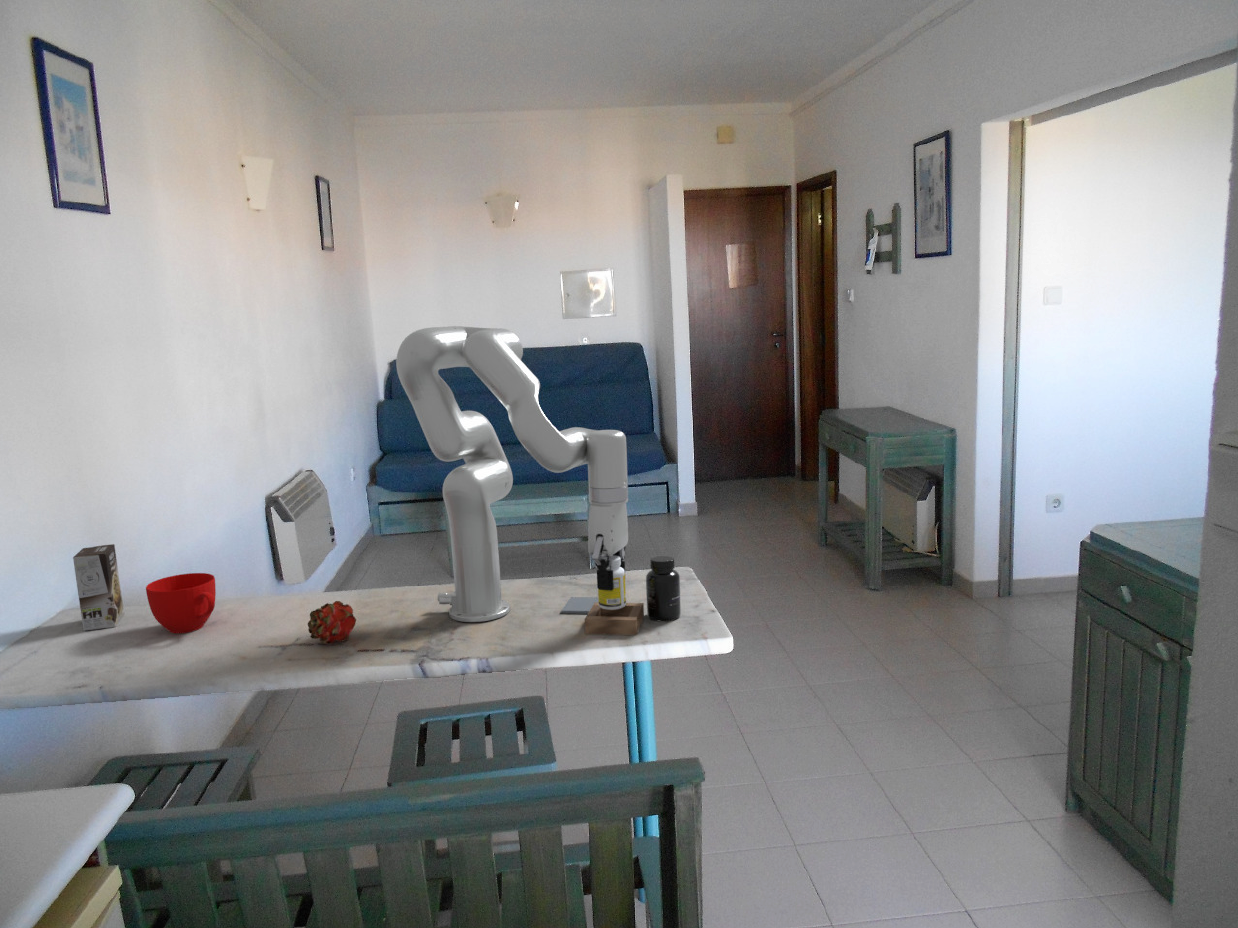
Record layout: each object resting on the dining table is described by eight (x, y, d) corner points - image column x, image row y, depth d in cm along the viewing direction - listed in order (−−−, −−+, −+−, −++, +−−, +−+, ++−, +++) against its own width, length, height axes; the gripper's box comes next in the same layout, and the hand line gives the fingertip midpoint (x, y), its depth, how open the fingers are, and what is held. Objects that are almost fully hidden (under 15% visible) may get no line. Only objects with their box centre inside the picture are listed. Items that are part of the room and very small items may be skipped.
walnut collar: (585, 633, 176) (584, 619, 175) (595, 616, 185) (594, 602, 185) (636, 634, 174) (635, 619, 173) (644, 617, 184) (643, 602, 183)
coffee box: (116, 627, 192) (106, 553, 190) (82, 631, 191) (71, 557, 188) (125, 613, 201) (115, 543, 198) (93, 618, 199) (82, 546, 196)
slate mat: (561, 613, 188) (561, 610, 188) (571, 599, 197) (571, 596, 197) (604, 614, 187) (604, 611, 187) (612, 600, 195) (612, 597, 195)
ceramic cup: (186, 646, 179) (180, 597, 177) (139, 633, 188) (132, 586, 186) (244, 625, 189) (239, 579, 188) (197, 614, 199) (191, 569, 197)
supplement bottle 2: (681, 621, 180) (679, 562, 178) (647, 622, 181) (645, 564, 179) (680, 609, 187) (678, 553, 185) (647, 611, 187) (644, 554, 185)
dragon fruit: (313, 660, 173) (346, 646, 184) (345, 635, 171) (377, 623, 182) (289, 623, 174) (323, 611, 185) (321, 598, 172) (353, 588, 183)
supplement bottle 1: (611, 599, 183) (610, 552, 181) (631, 605, 179) (630, 557, 178) (592, 606, 179) (591, 558, 177) (612, 612, 175) (611, 563, 174)
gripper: (607, 484, 184) (610, 571, 188) (572, 502, 169) (576, 596, 172) (642, 486, 182) (644, 573, 185) (609, 505, 166) (612, 600, 169)
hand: (611, 583), depth 178 cm, fingers closed on supplement bottle 1, 5 cm apart
